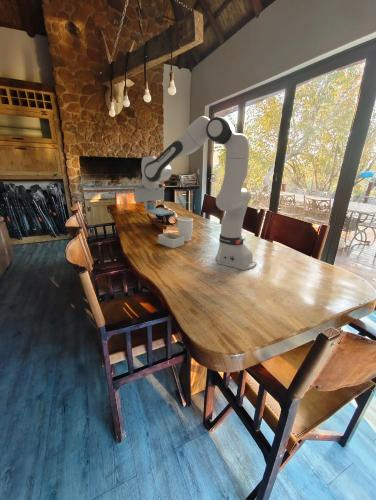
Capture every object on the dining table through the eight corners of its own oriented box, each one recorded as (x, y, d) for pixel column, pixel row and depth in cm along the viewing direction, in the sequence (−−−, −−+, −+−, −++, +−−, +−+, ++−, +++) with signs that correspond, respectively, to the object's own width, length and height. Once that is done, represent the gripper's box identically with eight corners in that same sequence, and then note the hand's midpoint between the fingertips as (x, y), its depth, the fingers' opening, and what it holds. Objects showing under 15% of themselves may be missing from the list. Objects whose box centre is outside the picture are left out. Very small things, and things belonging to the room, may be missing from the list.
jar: (193, 238, 169) (193, 217, 164) (192, 242, 159) (192, 220, 154) (178, 237, 170) (178, 216, 164) (176, 241, 160) (176, 220, 155)
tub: (184, 245, 153) (184, 236, 151) (172, 249, 146) (172, 240, 144) (169, 240, 162) (169, 232, 160) (158, 243, 155) (158, 235, 153)
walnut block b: (172, 243, 155) (172, 237, 154) (166, 244, 153) (166, 238, 152) (169, 241, 158) (169, 235, 157) (163, 242, 156) (163, 236, 155)
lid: (174, 214, 139) (174, 206, 138) (160, 216, 132) (160, 208, 131) (154, 209, 151) (154, 202, 150) (141, 211, 144) (140, 203, 143)
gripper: (137, 186, 132) (138, 210, 137) (165, 184, 146) (165, 207, 151) (131, 185, 136) (132, 209, 141) (159, 183, 150) (159, 205, 155)
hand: (149, 208), depth 146 cm, fingers closed on lid, 3 cm apart
